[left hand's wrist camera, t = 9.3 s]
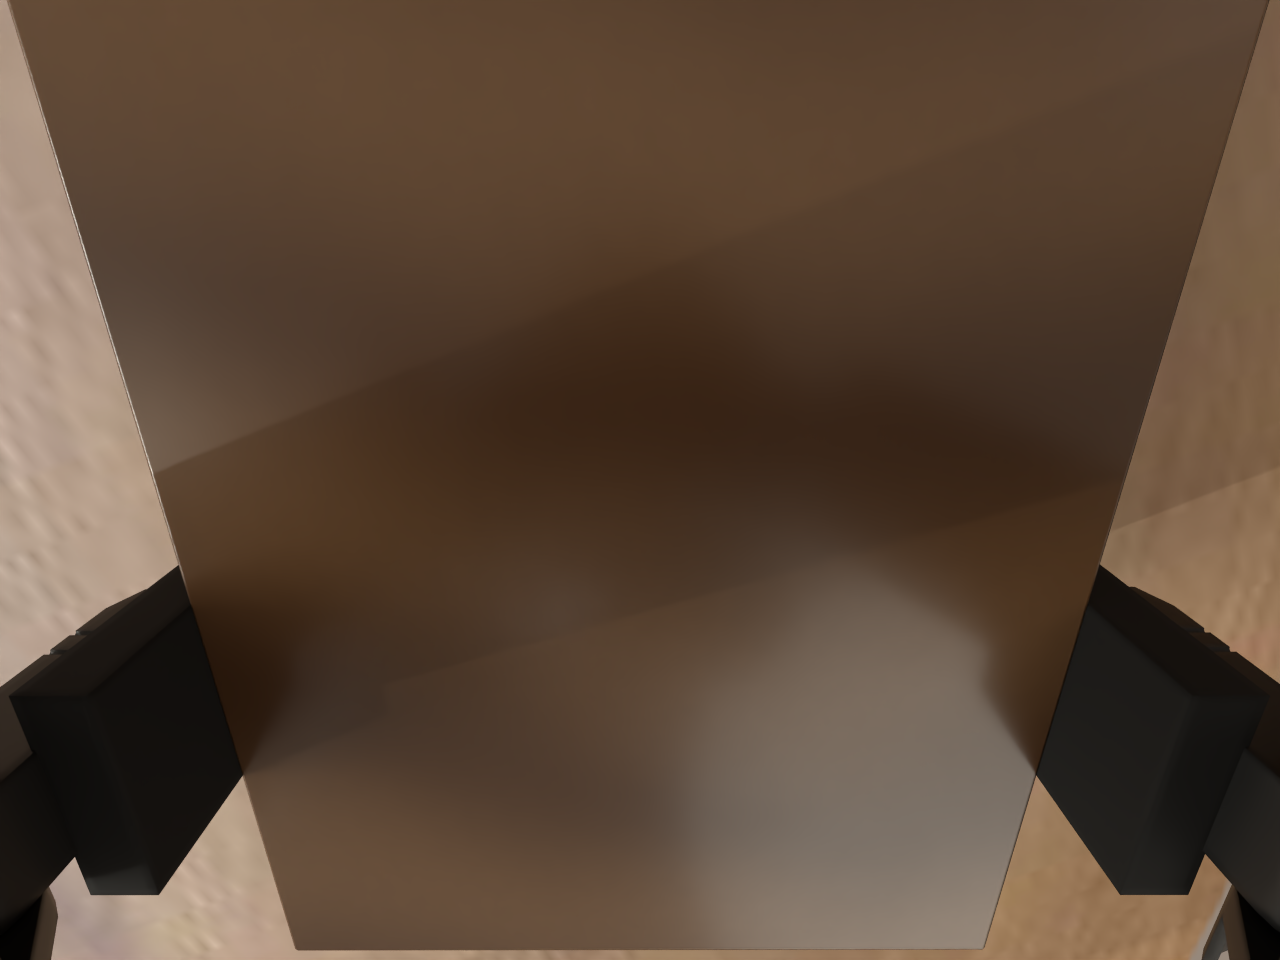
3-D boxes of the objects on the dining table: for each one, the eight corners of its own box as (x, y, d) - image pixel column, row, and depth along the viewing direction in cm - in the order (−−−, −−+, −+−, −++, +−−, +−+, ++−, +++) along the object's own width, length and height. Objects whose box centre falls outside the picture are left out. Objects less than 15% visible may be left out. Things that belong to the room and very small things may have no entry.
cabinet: (297, -348, 11) (-470, -1550, 3) (979, -349, 11) (1743, -1554, 3) (436, 637, 18) (294, 951, 11) (842, 636, 18) (985, 951, 11)
